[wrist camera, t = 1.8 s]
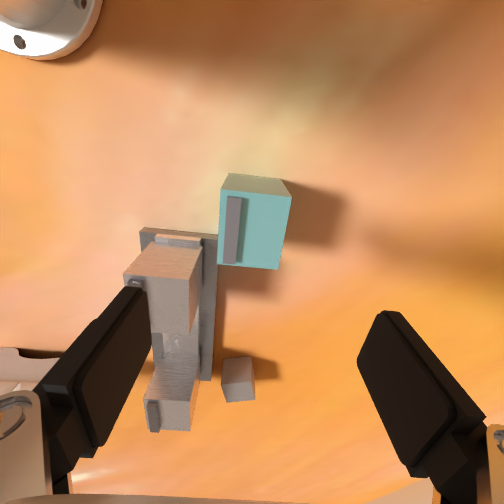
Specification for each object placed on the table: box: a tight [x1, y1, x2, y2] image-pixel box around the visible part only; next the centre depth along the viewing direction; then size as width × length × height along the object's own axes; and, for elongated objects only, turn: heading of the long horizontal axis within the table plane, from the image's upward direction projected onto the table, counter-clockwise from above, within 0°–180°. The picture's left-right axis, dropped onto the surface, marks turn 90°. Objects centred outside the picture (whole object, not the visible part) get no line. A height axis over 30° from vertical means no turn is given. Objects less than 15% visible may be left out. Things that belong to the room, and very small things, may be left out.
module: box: [217, 173, 292, 270], centre depth 21 cm, size 6×5×8 cm
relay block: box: [221, 356, 255, 402], centre depth 33 cm, size 4×4×4 cm
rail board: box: [123, 227, 218, 433], centre depth 26 cm, size 23×8×8 cm, turn 173°
